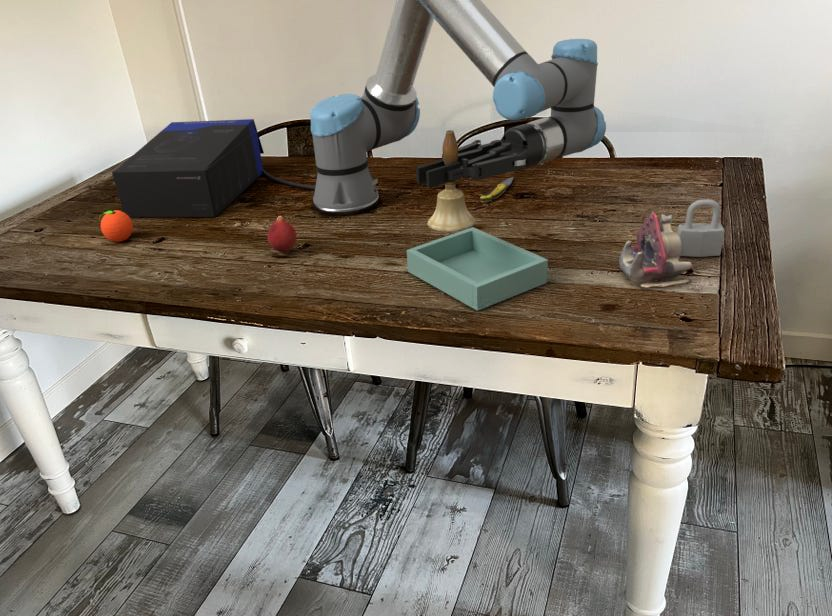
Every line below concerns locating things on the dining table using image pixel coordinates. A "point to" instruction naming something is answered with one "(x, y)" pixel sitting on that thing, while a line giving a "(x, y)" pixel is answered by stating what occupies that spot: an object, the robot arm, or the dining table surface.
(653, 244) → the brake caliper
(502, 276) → the open box
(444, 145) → the hand bell
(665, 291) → the dining table surface
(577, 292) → the dining table surface
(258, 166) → the headphone box
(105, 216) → the clementine
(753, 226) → the dining table surface
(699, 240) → the padlock
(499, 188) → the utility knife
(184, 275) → the dining table surface
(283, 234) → the onion
